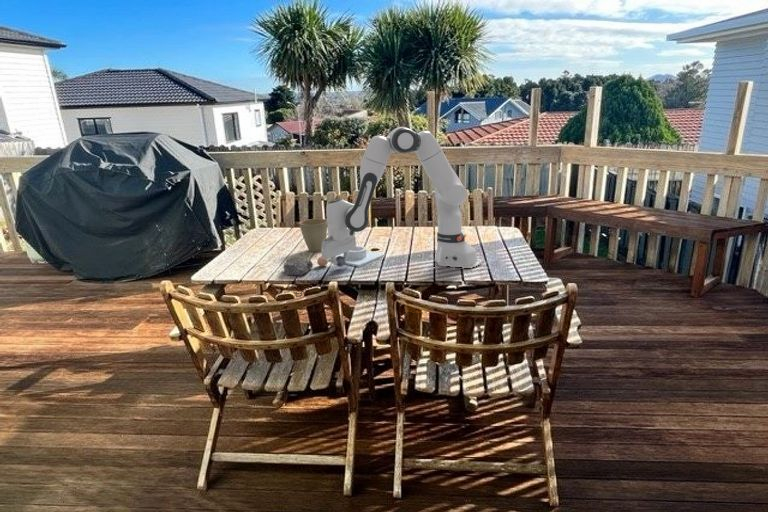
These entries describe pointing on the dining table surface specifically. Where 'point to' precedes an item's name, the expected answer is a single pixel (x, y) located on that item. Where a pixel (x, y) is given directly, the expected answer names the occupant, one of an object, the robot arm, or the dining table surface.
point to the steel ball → (340, 261)
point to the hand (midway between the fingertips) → (340, 262)
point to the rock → (297, 266)
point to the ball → (322, 261)
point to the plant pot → (314, 233)
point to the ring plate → (362, 261)
